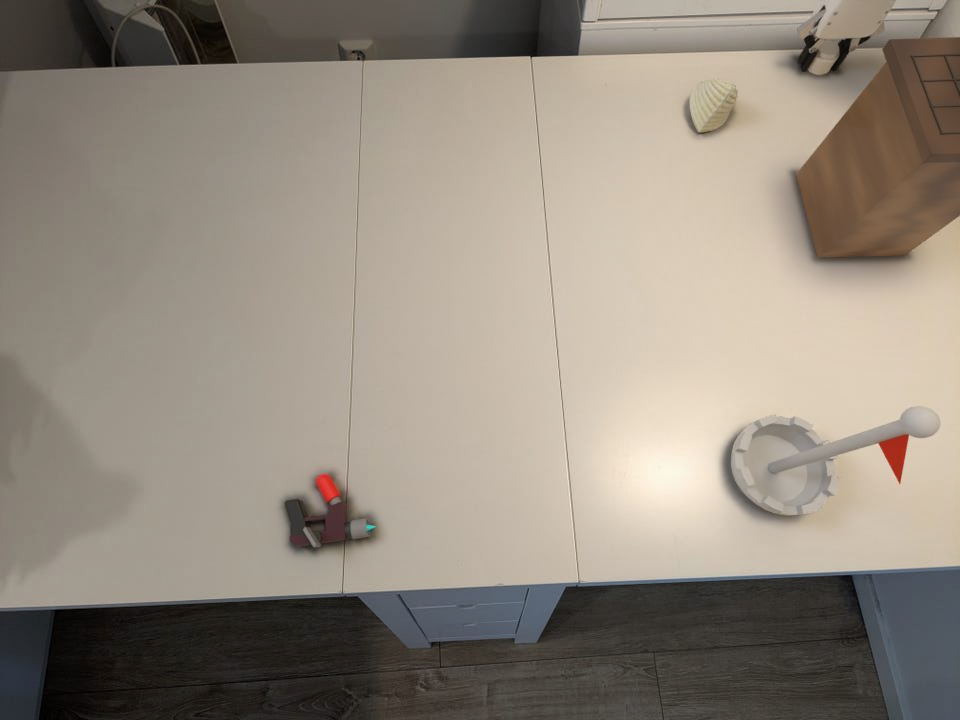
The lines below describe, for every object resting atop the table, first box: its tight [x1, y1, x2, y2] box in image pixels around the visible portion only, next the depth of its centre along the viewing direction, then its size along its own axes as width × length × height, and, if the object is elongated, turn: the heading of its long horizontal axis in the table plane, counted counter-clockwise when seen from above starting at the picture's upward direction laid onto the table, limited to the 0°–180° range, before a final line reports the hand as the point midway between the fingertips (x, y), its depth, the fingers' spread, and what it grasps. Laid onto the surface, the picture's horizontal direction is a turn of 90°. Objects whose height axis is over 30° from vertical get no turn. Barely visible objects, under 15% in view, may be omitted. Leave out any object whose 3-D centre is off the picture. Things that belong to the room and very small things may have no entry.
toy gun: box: [284, 473, 377, 549], centre depth 74 cm, size 10×12×5 cm
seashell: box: [688, 78, 739, 133], centre depth 96 cm, size 8×8×8 cm
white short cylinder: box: [806, 39, 840, 76], centre depth 100 cm, size 5×5×4 cm
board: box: [795, 36, 960, 259], centre depth 79 cm, size 16×18×26 cm
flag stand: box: [730, 405, 941, 516], centre depth 63 cm, size 13×13×30 cm
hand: (817, 64), depth 102 cm, fingers closed on white short cylinder, 4 cm apart
